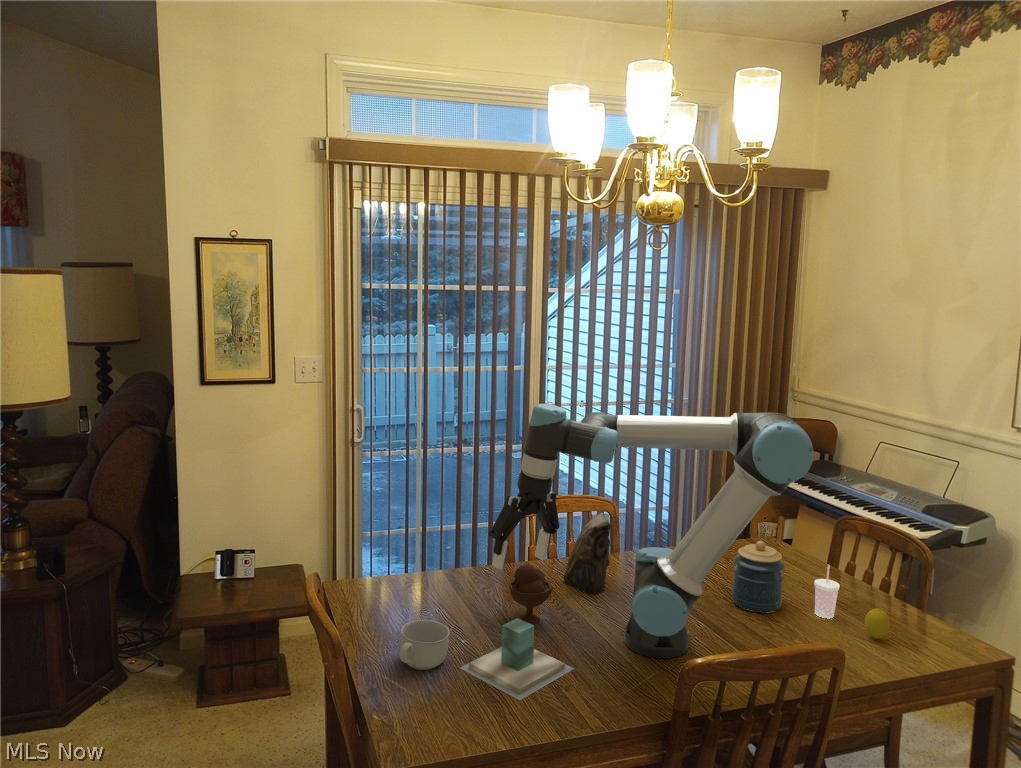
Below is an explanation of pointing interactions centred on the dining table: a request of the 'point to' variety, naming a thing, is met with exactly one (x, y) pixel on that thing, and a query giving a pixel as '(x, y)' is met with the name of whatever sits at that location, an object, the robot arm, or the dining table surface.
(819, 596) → the beverage cup
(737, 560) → the canister
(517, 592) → the ice cream bowl
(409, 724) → the dining table surface
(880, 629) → the lemon
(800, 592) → the dining table surface
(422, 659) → the teacup
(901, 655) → the dining table surface
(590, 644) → the dining table surface
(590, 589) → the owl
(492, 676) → the lid
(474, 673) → the mat
